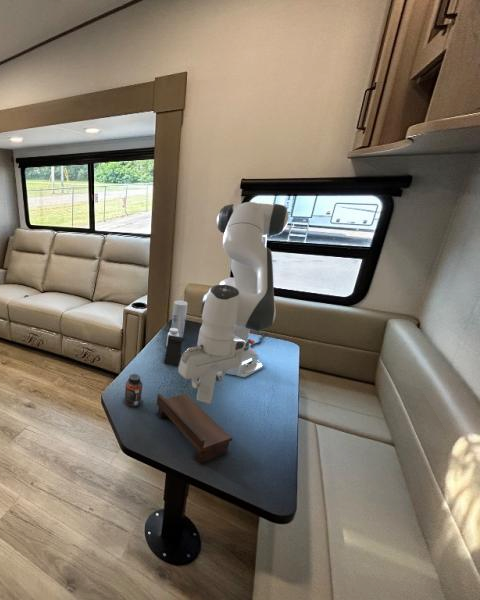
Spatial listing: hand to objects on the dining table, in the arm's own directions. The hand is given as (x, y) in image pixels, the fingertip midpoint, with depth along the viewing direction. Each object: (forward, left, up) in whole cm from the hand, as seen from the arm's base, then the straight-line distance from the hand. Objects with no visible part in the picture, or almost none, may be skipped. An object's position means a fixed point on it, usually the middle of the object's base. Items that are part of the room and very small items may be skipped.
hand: (206, 383), depth 93 cm
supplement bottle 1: (+10, -23, -22) cm, 34 cm away
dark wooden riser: (0, -3, -22) cm, 22 cm away
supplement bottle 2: (-29, -52, -22) cm, 64 cm away
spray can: (-37, -59, -22) cm, 73 cm away
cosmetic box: (0, 0, -5) cm, 5 cm away
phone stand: (-22, -42, -22) cm, 53 cm away
